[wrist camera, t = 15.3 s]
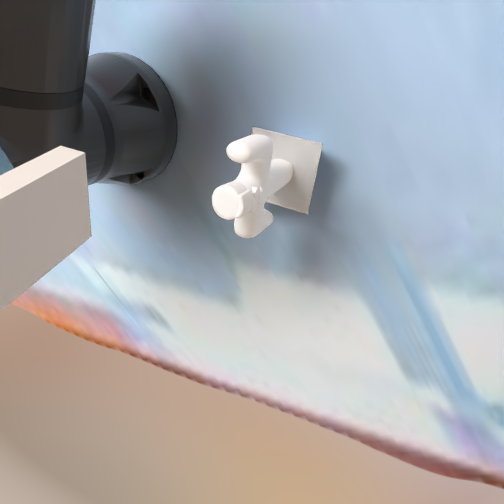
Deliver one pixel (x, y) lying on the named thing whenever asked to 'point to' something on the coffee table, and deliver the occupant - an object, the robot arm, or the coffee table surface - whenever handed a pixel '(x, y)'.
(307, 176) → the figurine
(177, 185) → the coffee table surface
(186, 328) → the coffee table surface
